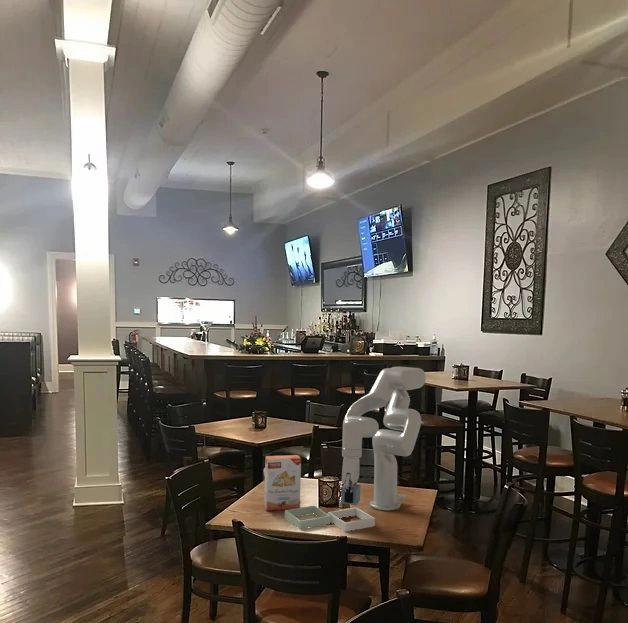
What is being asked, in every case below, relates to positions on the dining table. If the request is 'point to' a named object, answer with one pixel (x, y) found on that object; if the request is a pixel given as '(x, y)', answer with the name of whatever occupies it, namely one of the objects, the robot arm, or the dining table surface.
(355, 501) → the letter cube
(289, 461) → the cracker box
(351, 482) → the robot arm
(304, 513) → the sage square tray
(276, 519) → the dining table surface
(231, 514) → the dining table surface
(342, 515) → the white square tray
